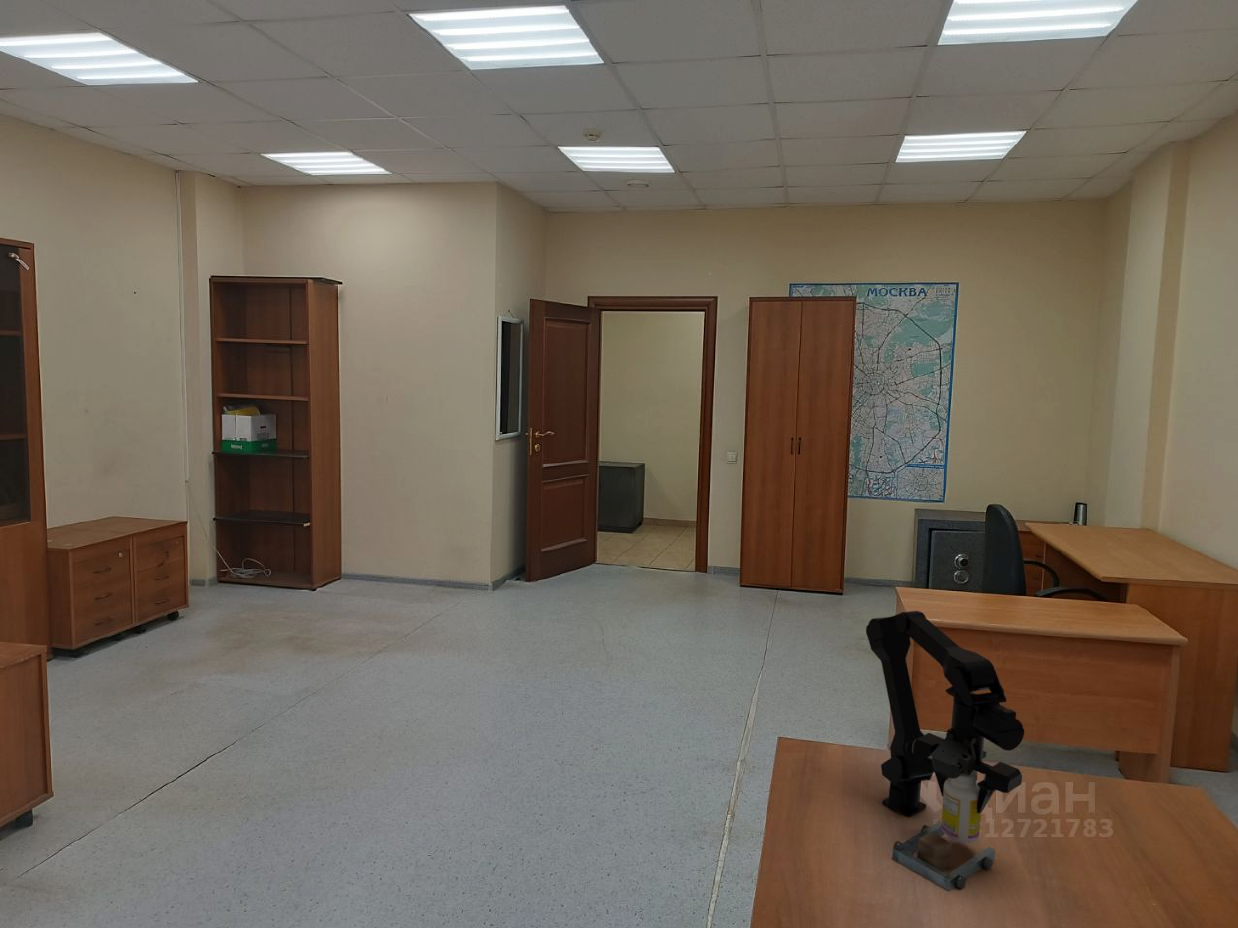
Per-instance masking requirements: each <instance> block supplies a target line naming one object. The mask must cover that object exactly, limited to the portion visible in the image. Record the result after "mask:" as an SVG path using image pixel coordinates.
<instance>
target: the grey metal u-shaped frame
mask: <svg viewBox="0 0 1238 928" xmlns="http://www.w3.org/2000/svg"><path fill="white" fill-rule="evenodd" d="M933 832H934V833H935V834H937V835H938V836H940V837H941V836H943V835H945V834H944V832H943V830H942V821H938V822H936V823H934V824H933V825H931V826H929V825H926V824H924V825H922V827H921V829H920V832H919V833H917V834H915V835H913V836H912V837H910V838H909V839H907V840H905V841H903V842H901V841H899V840H896V841H895V842H894V844H893V847H892V857H891V858H892V859H893V860H894V861H896V862H897V863H899V864H901V865H903V866H905V867H906V868H909V869H910V870H912V871H913V872H915V873H917V874H918V875H920V876H922V877H924V878H926V879H927V880H929V881H931V882H932V883H934V884H935V885H938V886H940V887H942V888H943V889H945V890H947V891H949V892H950V891H951V890H953V889H954V888H956V887H957V888H959V889H960V890H962V889H964V887H965V886H966V884H967V879H969V878H971V877H973V875H974V874H976V873H977V872H979V871H981V870H982V869H983V868H984V869H985V870H987V871H990V870H991V869H992V867H993V864H994V861H995V860H996V859H995V858H996V849H995V848H992V847H990V846H988V847H986V848H985V849H984V850H982V851H981V852H979V853H978V854H976V855H975V856H973V857H971V858H970V859H968V860H967V861H966V862H964V863H963V864H961V865H959V866H958V867H956V868H955V869H954V870H952V871H951V872H949V873H948V874H947V873H946V872H945V871H943V872H942V871H940V870H939V869H937V868H935V867H933V866H931V865H930V864H928V863H926V862H924V861H922V860H921V859H919V858H917V856H916V855H913V853H915V852H918V839H919V838H921V837H923V836H925V835H928V834H930V833H933Z"/></svg>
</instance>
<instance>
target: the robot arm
mask: <svg viewBox="0 0 1238 928" xmlns="http://www.w3.org/2000/svg"><path fill="white" fill-rule="evenodd" d="M865 629H866V630H865V633H866V637H867V640H868V643H869V647H870V649H871V651H872V652H873V653H874V654H875V656H876V657H877V658H878V659H879V661H880V663H881V667H882V672H883V678H884V683H885V688H886V693H887V697H888V703H889V707H890V714H891V718H892V724H893V729H894V735H893V738H892V739H891V740H892V741H891V742H890V746H889V750H890V752H889V753H890V758H889V759H887V760H886V761H884V762H883V763H880V768H881V775H882V776H883V777H884V778H885V779H886V780H888V781H889V790H888V797H886V798H885V799H882V802H881V804H882V805H884V806H887V807H888V808H890V809H892V810H894V811H895V812H898V813H900V814H901V815H903V816H905V817H909V818H910V817H912V816H914V815H915V814H917V813H919V812H920V811H923V810H925V809H926V808H927V805H926V803H924V802H921V788H922V782H924V781H931V779H932V777H933V774H934V775H935V778H936V781H937V784H938V787H939V791H940V794H941V797H942V798H943V791H944V783H945V781H946V780H947V779H948V778H953V779H955V778H958V777H959V776H960V775H962V774H966V775H968V776H969V775H970V774H971V773H972V772H973V770H975V771H977V773H979V774H982V775H983V779H982V780H981V781H979V782H977V785H978V787H979V796H978V803H977V813H979V814H980V813H981V814H982V813H983V811H984V810H985V808H986V806H987V804H988V803H989V801H990V800H991V798H992V796H993V795H994V793H995V792H996V791H999V792H1000V793H1003V794H1009V793H1010V792H1012V791H1013V790H1014V789H1017V788H1018V787H1020V786H1021V785H1022V783H1023V782H1022V781H1023V780H1022V779H1023V775H1022V772H1021V771H1020V769H1019V768H1017V767H1014V766H1012V765H1009V764H1008V763H1004V762H1002V761H999V762H998V763H996V764H994V765H991V764H989V763H985V762H983V759H985V758H986V757H987V751H985V750H984V745H985V740H987V741H989V742H990V743H992V744H994V745H995V746H996V747H998V748H999V749H1002V750H1004V751H1007V752H1008V751H1012V750H1015V749H1016V748H1017V747H1018V746H1020V744H1021V742H1022V741H1023V739H1024V736H1025V729H1024V726H1023V724H1022V722H1021V720H1019V719H1017V712H1016V711H1015V710H1012V709H1011V708H1007V707H1005V706H1003V705H1002V704H1001V703H1007V697H1006V695H1005V693H1004V692H1005V690H1004V688H1003V686H1002V684H1001V682H1000V679H999V677H998V674H997V672H996V670H995V666H994V664H993V663H992V662H991V660H989V659H988V658H986V657H985V656H983V655H981V654H979V653H977V652H975V651H972V650H968V649H966V648H963V647H961V646H959V645H958V644H957V643H956V642H955V641H954V640H952V639H951V638H950V637H949V636H948V635H946V634H945V633H944V632H943V631H942V630H940V629H939V628H938V627H937V625H935V624H933V623H932V621H930V620H928V618H927V617H926V615H925V614H924V612H922V611H919V610H910V611H902V612H900V613H898V614H895V615H892V616H886V617H875V618H871V619H870V620H869V622H868V624H867V625H866V627H865ZM911 639H912V640H913V641H914V642H915V643H916V644H917V645H918V646H919V647H920V648H922V649H923V650H924V651H925V652H926V653H927V654H929V656H930V657H932V658H933V659H934V660H935V661H936V662H937V663H938V664H939V665H940V666H941V667H942V670H943V676H944V678H945V679H946V680H947V681H948V683H949V684H950V685H951V687H948V688H946V689H945V693H946V694H947V695H949V696H951V697H953V699H952V713H951V727H950V728H948V729H946V734H945V735H946V736H945V738H943V737H940V736H939V735H936V734H933V733H930V732H928V733H926V734H924V733H923V732H922V731H921V728H920V727H921V726H920V722H919V718H918V712H917V708H916V702H915V698H914V692H913V689H912V683H911V678H910V673H909V668H908V663H907V656H908V653H909V650H910V647H911V645H912V644H911V642H912V641H911ZM987 690H989V691H990V692H984V693H983V692H982V693H976V692H980V691H987Z"/></svg>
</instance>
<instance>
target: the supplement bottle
mask: <svg viewBox="0 0 1238 928" xmlns="http://www.w3.org/2000/svg"><path fill="white" fill-rule="evenodd" d="M977 780H978V772H977V771H975V770H973V772H972V773H971V774H970V775H969V776H968V775H966V774H962V775H960V776H959V777H958V778H955V779H953V778H948V779H947V780H946V781H945V783H944V791H943V797H942V809H941V810H942V813H941V823H942V830H943V832H944V834H943V835H945V836H946V837H947V838H949V840H952V841H956V842H957V843H962V844H970V843H971V844H972V843H974V842H976V841H977V840H978V839H979V838H980V835H981V834H980V833H981V820H982V818H981V817H982V812H981V813H980V814H979V813H977V803H978V796H979V787H978V785H977V783H978V782H977Z"/></svg>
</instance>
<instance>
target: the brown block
mask: <svg viewBox="0 0 1238 928" xmlns="http://www.w3.org/2000/svg"><path fill="white" fill-rule="evenodd" d="M916 852H917V854H916V857H917V858H919V859H921V860H922V861H924V862H926V863H928V864H930V865H931V866H933V867H935V868H937V869H939V870H940V871H942V872H945V871H948V870H950V866H951V853H952V843H951V842H950V841H948V840H946V839H945V838H943V837H941V836H938V835H937V834H935V833H934V832H933V833H930V834H928V835H925V836H923V837H921V838H919V839H918V850H917V851H916Z"/></svg>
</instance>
